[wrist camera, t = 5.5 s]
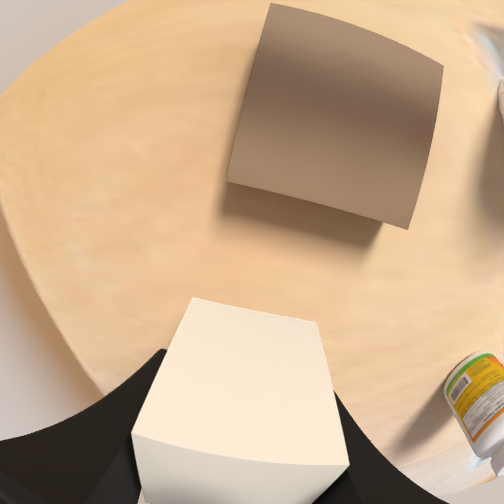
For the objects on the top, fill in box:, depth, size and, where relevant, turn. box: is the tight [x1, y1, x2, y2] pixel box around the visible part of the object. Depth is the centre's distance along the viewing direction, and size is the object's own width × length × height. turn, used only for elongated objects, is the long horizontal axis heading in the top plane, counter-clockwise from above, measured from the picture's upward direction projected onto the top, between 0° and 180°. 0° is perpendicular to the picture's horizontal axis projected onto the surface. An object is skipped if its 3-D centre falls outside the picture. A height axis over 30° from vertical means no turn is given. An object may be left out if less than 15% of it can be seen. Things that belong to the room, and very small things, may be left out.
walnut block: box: [226, 3, 444, 230], centre depth 12 cm, size 8×8×3 cm
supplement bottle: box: [444, 351, 504, 476], centre depth 13 cm, size 5×5×10 cm
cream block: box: [131, 297, 350, 504], centre depth 8 cm, size 4×4×6 cm
